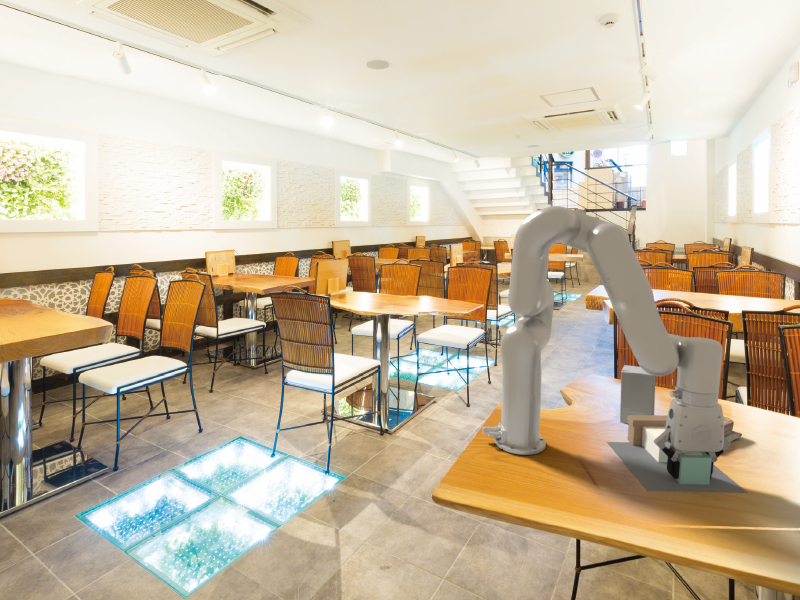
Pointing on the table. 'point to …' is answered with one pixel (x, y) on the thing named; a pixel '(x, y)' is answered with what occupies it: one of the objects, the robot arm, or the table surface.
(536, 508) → the table surface
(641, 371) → the skincare box
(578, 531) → the table surface
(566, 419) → the table surface
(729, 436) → the packaged product
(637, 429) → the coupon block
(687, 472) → the teal cube
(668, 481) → the mat
